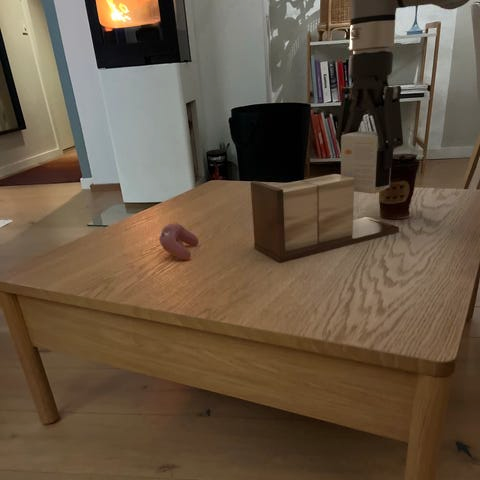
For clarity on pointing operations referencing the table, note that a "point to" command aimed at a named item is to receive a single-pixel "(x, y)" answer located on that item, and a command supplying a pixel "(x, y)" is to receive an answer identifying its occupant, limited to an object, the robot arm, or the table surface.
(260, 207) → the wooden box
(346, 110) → the robot arm
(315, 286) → the table surface
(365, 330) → the table surface
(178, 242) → the pink curved tube
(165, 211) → the table surface
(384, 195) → the coffee cup
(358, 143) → the small box
